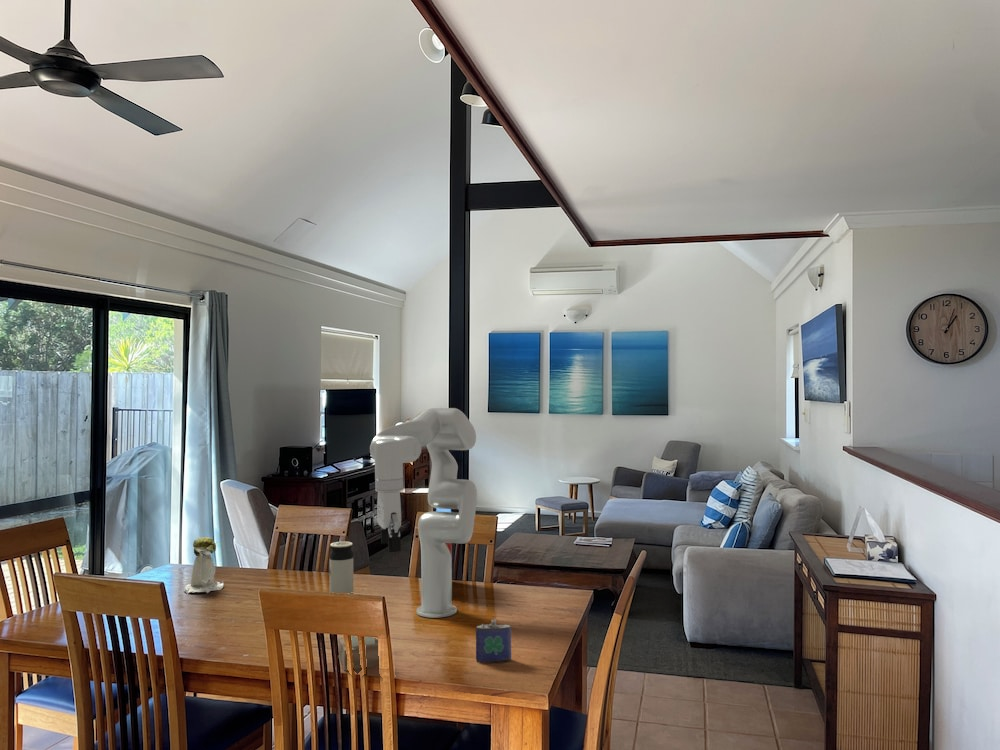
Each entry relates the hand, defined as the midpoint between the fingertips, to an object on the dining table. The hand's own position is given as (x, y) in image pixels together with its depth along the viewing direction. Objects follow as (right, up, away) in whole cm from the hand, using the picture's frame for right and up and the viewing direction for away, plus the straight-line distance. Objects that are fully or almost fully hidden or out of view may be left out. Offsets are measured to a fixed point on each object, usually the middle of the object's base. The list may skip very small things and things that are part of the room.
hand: (390, 547), depth 202 cm
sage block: (-6, -22, -9) cm, 25 cm away
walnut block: (-6, -27, -9) cm, 30 cm away
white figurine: (-75, -30, +62) cm, 102 cm away
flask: (+28, -27, -10) cm, 40 cm away
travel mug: (-24, -29, +51) cm, 64 cm away
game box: (+10, -29, +59) cm, 67 cm away
